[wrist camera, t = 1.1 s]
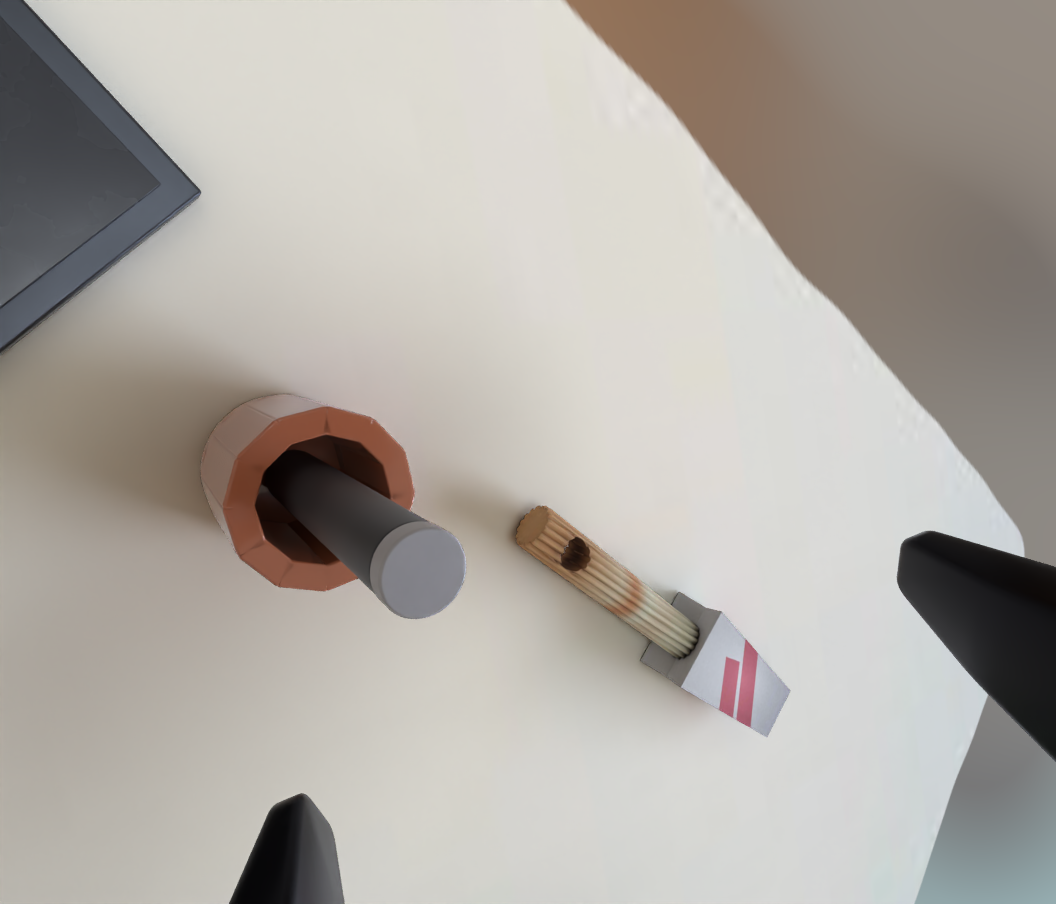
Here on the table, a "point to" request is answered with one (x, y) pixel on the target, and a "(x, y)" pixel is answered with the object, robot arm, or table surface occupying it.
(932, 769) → the table surface
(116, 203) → the tablet
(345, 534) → the stylus
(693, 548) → the table surface
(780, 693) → the paintbrush
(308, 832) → the robot arm
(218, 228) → the table surface
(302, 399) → the pen cup
